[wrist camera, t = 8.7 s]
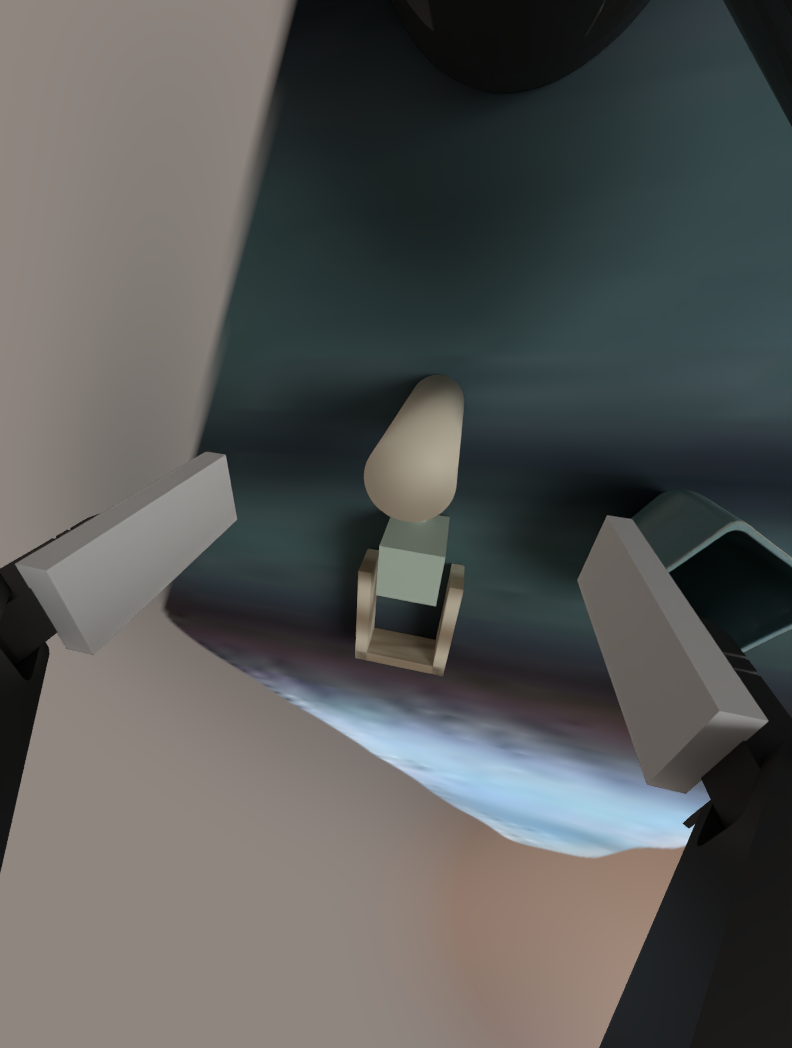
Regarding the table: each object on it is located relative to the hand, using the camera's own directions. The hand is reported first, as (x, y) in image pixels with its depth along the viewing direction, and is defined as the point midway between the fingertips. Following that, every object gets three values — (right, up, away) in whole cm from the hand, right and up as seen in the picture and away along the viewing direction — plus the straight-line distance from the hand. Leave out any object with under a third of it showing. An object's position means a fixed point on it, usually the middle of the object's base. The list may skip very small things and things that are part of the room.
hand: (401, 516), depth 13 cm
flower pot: (+21, -1, +17) cm, 27 cm away
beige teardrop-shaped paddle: (+2, +4, +18) cm, 18 cm away
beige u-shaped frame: (+1, -8, +26) cm, 27 cm away
